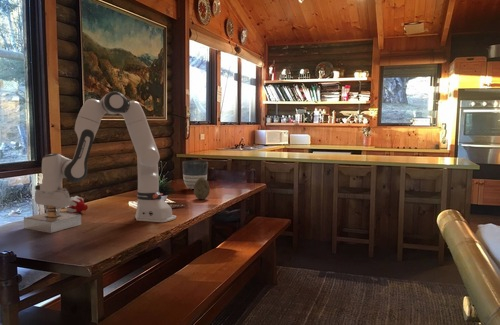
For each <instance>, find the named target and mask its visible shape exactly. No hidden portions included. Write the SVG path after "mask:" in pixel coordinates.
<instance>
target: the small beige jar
mask: <svg viewBox="0 0 500 325" xmlns="http://www.w3.org/2000/svg"><path fill="white" fill-rule="evenodd" d="M47 209H48V218H56V217H58V216H55V212H56V211H57V209H56V207H54V206H47Z"/></svg>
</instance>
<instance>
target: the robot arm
mask: <svg viewBox="0 0 500 325" xmlns="http://www.w3.org/2000/svg"><path fill="white" fill-rule="evenodd" d="M117 114H119V115H121V117H122V118H123V119H124V122H125V125H126V128H127V131H128V134H129V137H130V139H131V142H132V146H133V148H134V151H135V153H136V156H137V158H136V159H137V161H136V163H137V164H136V165H137V166H136V167H137V192H136V199H137V205H136V212H135V216H134V218H135V219H136V220H135V221H139V222H150V223H151V222H152V223H166V222H167V223H168V222H170V221H173V220H175V219H176V220H177V215H174V214H173V209H172V207H171V205H169V204H168V203H167V202H166V201H165V200H164V199H163V198H162V196H163V195H164V193H162V192H160V189H159V188H160V184H159V183H160V179H159V178H160V176H159V162H160V159H161V158H160V152H159V149H158V147H157V144H156V142H155V141H156V140H155V139H154V136H153V134H152V131H151V128H150V125H149V122H148V120H147V116H146V114H145V111H144V109H143V108H142V106H141V104H140V103H139V102H138V101H136V100H129V99H128V98H127V97H126V96H125V95H124V94H122V93H121V92H119V91H114V90H112V91H110V92H108V93H106V94H105V95H103V96H102V97H101V98H100V99H96V98H88V99H86V100H85V101H84V103H83V105H82V107H80V110H79V112H78V114H77V117H76V120H75V125H74V132H75V134H76V136H77V144H76V145H77V146H76V148H75V151H74V154H73V158H72V159H71V158H69V157H65V156H64V155H62V154H60V153H58V152H57V153H55V152H54V153H49V154H45V155H44V156H43V157H42V160H41V174H42V180H41V183H40V184H36V185H34V190H35V191H34V202H35V204H36V205H41V206H43V208H44V210H45V213H46V214H48V209H47V206H54V207H56V209H57V211H56V212H55V216H59V215H60V211H62V209H65V208H66V207H69V206H70V198H71V197H70V193H69V190H68V189H67V188H66V187H64V188H63V179H66V180H68V181H69V182H71V183H81V182H83V181H84V180H85V179H86V178H87V176H88V160H89V157H90V154H91V150H92V145H93V142H94V140H95V137H96V135H97V132H98V130H99V127H100V125H101V121H102V119H103V117H104V115H109V116H113V115H117Z"/></svg>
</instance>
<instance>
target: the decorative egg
mask: <svg viewBox="0 0 500 325" xmlns="http://www.w3.org/2000/svg"><path fill="white" fill-rule="evenodd" d="M210 192H211V191H210V184H209V182H208V179H207V180H206V179H205V178H203V177H201V178H199V179H198V180H197V181H196V183H195V186H194V190H193V195H194V196H195V198H196V199H198V200H201V199H202V200H205V199H207V198H208V196H209V195H210Z"/></svg>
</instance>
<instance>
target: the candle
mask: <svg viewBox="0 0 500 325" xmlns="http://www.w3.org/2000/svg"><path fill="white" fill-rule="evenodd" d="M87 210H88V205H87V204H85V201H84V198H83V197H80V196H78V195H74V196H71V197H70V206H69V207H66V212H67V211H68V212H69V213H76V214H80V213H81V212H83V211H85V212H86V211H87Z"/></svg>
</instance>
